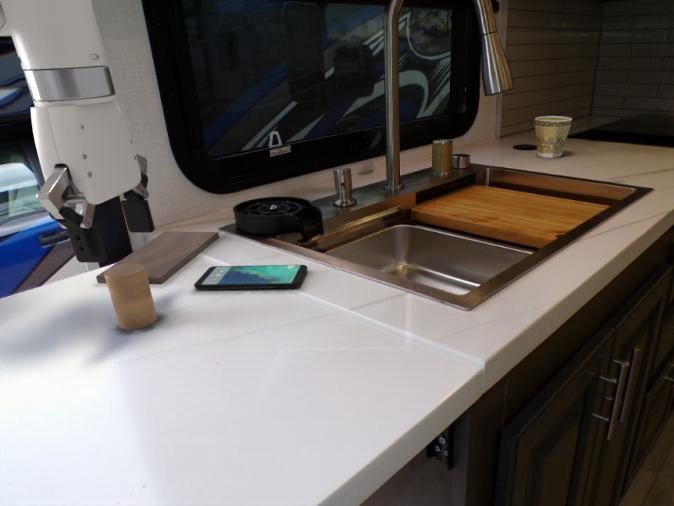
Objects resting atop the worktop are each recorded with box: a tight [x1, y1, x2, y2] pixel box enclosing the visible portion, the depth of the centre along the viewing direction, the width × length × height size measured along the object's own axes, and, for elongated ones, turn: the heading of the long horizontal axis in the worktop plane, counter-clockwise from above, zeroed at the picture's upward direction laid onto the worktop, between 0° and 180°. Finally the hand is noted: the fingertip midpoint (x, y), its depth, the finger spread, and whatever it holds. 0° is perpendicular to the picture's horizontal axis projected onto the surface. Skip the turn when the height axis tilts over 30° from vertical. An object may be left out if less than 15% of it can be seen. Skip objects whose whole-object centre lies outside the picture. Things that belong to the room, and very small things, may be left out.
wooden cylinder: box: [104, 263, 159, 331], centre depth 64 cm, size 4×4×7 cm
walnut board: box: [95, 230, 220, 285], centre depth 85 cm, size 10×20×1 cm, turn 174°
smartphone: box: [193, 264, 308, 290], centre depth 76 cm, size 7×1×15 cm
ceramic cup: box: [534, 115, 573, 159], centre depth 148 cm, size 13×10×10 cm
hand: (119, 245), depth 61 cm, fingers open, 9 cm apart
